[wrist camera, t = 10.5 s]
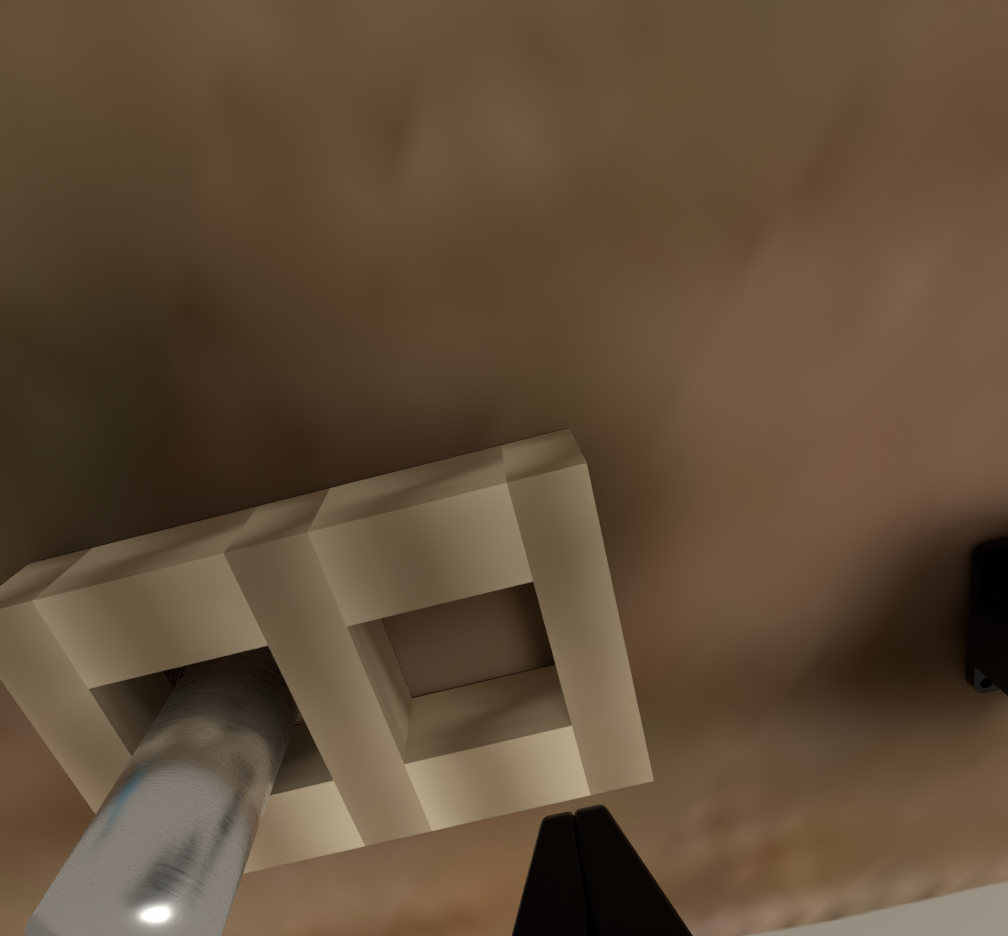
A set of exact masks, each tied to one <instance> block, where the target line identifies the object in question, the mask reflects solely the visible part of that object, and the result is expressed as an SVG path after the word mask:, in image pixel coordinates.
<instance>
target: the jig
mask: <svg viewBox="0 0 1008 936" xmlns="http://www.w3.org/2000/svg"><path fill="white" fill-rule="evenodd" d="M529 582H534V586H535V590H536V594H537V597H538V601H539V605H540V609H541V612H542V616H543V620H544V623H545V627H546V631H547V635H548V638H549V642H550V646H551V650H552V653H553V657H554V661H555V664H556V665H551V666H547V667H543V668H539V669H534V670H530V671H526V672H522V673H517V674H513V675H509V676H505V677H500V678H496V679H492V680H488V681H483V682H479V683H475V684H471V685H466V686H462V687H458V688H454V689H449V690H445V691H441V692H437V693H432V694H428V695H424V696H420V697H415V698H412V697H411V694H410V692H409V689H408V687H407V684H406V681H405V679H404V676H403V674H402V671H401V669H400V666H399V663H398V661H397V658H396V656H395V653H394V651H393V648H392V646H391V643H390V640H389V638H388V635H387V633H386V630H385V628H384V625H383V622H382V620H381V618H384V617H388V616H392V615H396V614H401V613H405V612H409V611H413V610H417V609H421V608H425V607H430V606H434V605H438V604H442V603H446V602H450V601H455V600H459V599H463V598H467V597H471V596H475V595H479V594H484V593H488V592H492V591H496V590H500V589H504V588H508V587H513V586H517V585H521V584H525V583H529ZM264 646H269V648H270V650H271V652H272V655H273V657H274V659H275V661H276V663H277V665H278V667H279V669H280V671H281V673H282V675H283V677H284V679H285V681H286V683H287V686H288V688H289V690H290V692H291V694H292V696H293V698H294V700H295V702H296V704H297V706H298V708H299V710H300V712H301V714H302V717H303V719H304V721H305V724H301V725H296V726H294V727H293V730H292V733H291V736H290V739H289V742H288V744H287V747H286V750H285V753H284V756H283V759H282V762H281V765H280V768H279V771H278V773H277V776H276V779H275V782H274V785H273V788H272V791H271V794H270V797H269V800H268V802H267V805H266V808H265V811H264V814H263V817H262V820H261V823H260V826H259V829H258V831H257V834H256V837H255V840H254V843H253V846H252V849H251V852H250V855H249V858H248V860H247V863H246V866H245V869H244V872H243V874H244V873H248V872H253V871H257V870H262V869H266V868H271V867H275V866H279V865H284V864H288V863H293V862H297V861H302V860H306V859H310V858H315V857H319V856H324V855H328V854H333V853H337V852H341V851H346V850H350V849H355V848H359V847H364V846H368V845H372V844H377V843H381V842H386V841H390V840H395V839H399V838H403V837H408V836H412V835H417V834H421V833H426V832H430V831H434V830H439V829H443V828H448V827H452V826H457V825H461V824H465V823H470V822H474V821H479V820H483V819H488V818H492V817H496V816H501V815H505V814H510V813H514V812H519V811H523V810H527V809H532V808H536V807H541V806H545V805H550V804H554V803H558V802H563V801H567V800H572V799H576V798H581V797H585V796H589V795H594V794H598V793H603V792H607V791H612V790H616V789H620V788H625V787H629V786H634V785H638V784H643V783H647V782H651V781H654V780H653V775H652V770H651V765H650V761H649V756H648V751H647V747H646V742H645V737H644V732H643V728H642V723H641V718H640V713H639V709H638V704H637V699H636V694H635V690H634V685H633V680H632V675H631V671H630V666H629V661H628V656H627V652H626V647H625V642H624V637H623V633H622V628H621V623H620V619H619V614H618V609H617V604H616V600H615V595H614V590H613V585H612V581H611V576H610V571H609V566H608V562H607V557H606V552H605V547H604V543H603V538H602V533H601V528H600V524H599V519H598V514H597V509H596V505H595V500H594V495H593V490H592V486H591V481H590V476H589V472H588V467H587V463H586V460H585V458H584V456H583V454H582V452H581V450H580V448H579V446H578V444H577V442H576V440H575V438H574V436H573V434H572V432H571V430H570V428H568V429H564V430H560V431H556V432H552V433H548V434H544V435H540V436H536V437H532V438H528V439H524V440H520V441H516V442H512V443H508V444H504V445H500V446H496V447H492V448H488V449H484V450H480V451H476V452H472V453H468V454H464V455H460V456H456V457H452V458H448V459H444V460H440V461H436V462H432V463H428V464H424V465H420V466H416V467H412V468H408V469H404V470H400V471H396V472H392V473H388V474H384V475H380V476H377V477H373V478H369V479H365V480H361V481H357V482H353V483H349V484H345V485H341V486H337V487H333V488H329V489H325V490H321V491H317V492H313V493H309V494H305V495H301V496H297V497H293V498H289V499H285V500H281V501H277V502H273V503H269V504H265V505H261V506H257V507H253V508H249V509H245V510H241V511H237V512H233V513H229V514H225V515H221V516H217V517H213V518H209V519H205V520H201V521H197V522H193V523H189V524H185V525H182V526H178V527H174V528H170V529H166V530H162V531H158V532H154V533H150V534H146V535H142V536H138V537H134V538H130V539H126V540H122V541H118V542H114V543H110V544H106V545H102V546H98V547H94V548H90V549H86V550H82V551H78V552H74V553H70V554H66V555H62V556H58V557H54V558H50V559H46V560H42V561H38V562H34V563H30V564H28V565H27V566H25V567H24V568H23V569H21V570H20V571H19V572H18V573H16V574H15V575H14V576H13V577H11V578H10V579H9V580H7V581H6V582H5V583H4V584H2V585H1V586H0V680H1V681H2V683H3V684H4V686H5V687H6V688H7V690H8V691H9V693H10V694H11V695H12V697H13V698H14V700H15V701H16V703H17V704H18V705H19V707H20V708H21V710H22V711H23V712H24V714H25V715H26V717H27V718H28V719H29V721H30V722H31V724H32V725H33V727H34V728H35V729H36V731H37V732H38V734H39V735H40V736H41V738H42V739H43V741H44V742H45V744H46V745H47V746H48V748H49V749H50V751H51V752H52V753H53V755H54V756H55V758H56V759H57V761H58V762H59V763H60V765H61V766H62V768H63V769H64V770H65V772H66V773H67V775H68V776H69V777H70V779H71V780H72V782H73V783H74V785H75V786H76V787H77V789H78V790H79V792H80V793H81V794H82V796H83V797H84V799H85V800H86V802H87V803H88V804H89V806H90V807H91V809H92V810H93V811H94V813H95V814H96V813H97V811H98V810H99V808H100V806H101V805H102V803H103V802H104V800H105V798H106V797H107V795H108V794H109V792H110V790H111V789H112V787H113V786H114V784H115V782H116V781H117V779H118V778H119V776H120V775H121V773H122V771H123V770H124V768H125V767H126V765H127V763H128V762H129V760H130V759H131V757H132V755H133V754H134V752H135V751H136V749H137V747H138V746H139V744H140V743H141V741H142V739H143V738H144V736H145V735H146V733H147V731H148V730H149V728H150V727H151V725H152V724H153V722H154V720H155V719H156V717H157V716H158V714H159V712H160V711H161V709H162V708H163V706H164V704H165V703H166V701H167V700H168V698H169V696H170V695H171V693H172V692H173V690H174V688H173V687H172V685H171V683H170V681H169V680H168V678H167V676H166V675H165V673H164V670H169V669H173V668H177V667H181V666H185V665H189V664H193V663H198V662H202V661H206V660H210V659H214V658H218V657H222V656H227V655H231V654H235V653H239V652H243V651H247V650H251V649H256V648H260V647H264Z"/></svg>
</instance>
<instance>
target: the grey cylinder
mask: <svg viewBox="0 0 1008 936" xmlns="http://www.w3.org/2000/svg"><path fill="white" fill-rule="evenodd" d="M298 713H299V708H298V706H297V704H296V702H295V700H294V698H293V696H292V694H291V692H290V690H289V688H288V686H287V683H286V681H285V679H284V677H283V675H282V673H281V671H280V669H279V667H278V665H277V663H276V661H275V659H274V657H273V655H272V652H271V650H270V648H269V646H264V647H260V648H256V649H251V650H247V651H243V652H239V653H235V654H231V655H227V656H222V657H218V658H214V659H210V660H206V661H202V662H198V663H193V664H190V665H189V666H188V668H187V669H186V671H185V673H184V674H183V676H182V677H181V679H180V681H179V682H178V684H177V685H176V687H175V688H174V690H173V692H172V693H171V695H170V696H169V698H168V700H167V701H166V703H165V704H164V706H163V708H162V709H161V711H160V712H159V714H158V716H157V717H156V719H155V720H154V722H153V724H152V725H151V727H150V728H149V730H148V731H147V733H146V735H145V736H144V738H143V739H142V741H141V743H140V744H139V746H138V747H137V749H136V751H135V752H134V754H133V755H132V757H131V759H130V760H129V762H128V763H127V765H126V767H125V768H124V770H123V771H122V773H121V775H120V776H119V778H118V779H117V781H116V782H115V784H114V786H113V787H112V789H111V790H110V792H109V794H108V795H107V797H106V798H105V800H104V802H103V803H102V805H101V806H100V808H99V810H98V811H97V813H96V814H95V816H94V818H93V819H92V821H91V822H90V824H89V825H88V827H87V829H86V830H85V832H84V833H83V835H82V837H81V838H80V840H79V841H78V843H77V845H76V846H75V848H74V849H73V851H72V853H71V854H70V856H69V857H68V859H67V861H66V862H65V864H64V865H63V867H62V869H61V870H60V872H59V873H58V875H57V876H56V878H55V880H54V881H53V883H52V884H51V886H50V888H49V889H48V891H47V892H46V894H45V896H44V897H43V899H42V900H41V902H40V904H39V905H38V907H37V908H36V910H35V912H34V913H33V915H32V916H31V918H30V919H29V921H28V923H27V926H26V928H25V934H24V936H222V933H223V930H224V927H225V924H226V921H227V918H228V916H229V913H230V910H231V907H232V904H233V901H234V898H235V895H236V892H237V889H238V887H239V884H240V881H241V878H242V875H243V872H244V869H245V866H246V863H247V860H248V858H249V855H250V852H251V849H252V846H253V843H254V840H255V837H256V834H257V831H258V829H259V826H260V823H261V820H262V817H263V814H264V811H265V808H266V805H267V802H268V800H269V797H270V794H271V791H272V788H273V785H274V782H275V779H276V776H277V773H278V771H279V768H280V765H281V762H282V759H283V756H284V753H285V750H286V747H287V744H288V742H289V739H290V736H291V733H292V730H293V727H294V724H295V721H296V718H297V715H298Z"/></svg>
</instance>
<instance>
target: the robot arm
mask: <svg viewBox="0 0 1008 936" xmlns="http://www.w3.org/2000/svg"><path fill="white" fill-rule="evenodd" d="M992 555H993V556H992ZM991 556H992V557H991ZM990 557H991V558H990ZM989 558H990V559H989ZM966 681H967V683H968V684H969V685H970V686H971V687H973V688H974V689H975V690H976V691H977V692H979V693H987V692H992V691H996V690H1002V691H1003V692H1004V693H1005V694H1006V695H1007V696H1008V537H1006V538H1002V539H998V540H993V541H989V542H986V543H983V544H981V545H980V546H979V547H977V548H976V550H975V551H974V552H973V556H972V568H971V587H970V607H969V627H968V646H967V666H966ZM512 936H693V935H692V934H691V932H690V931H689V929H688V928H687V926H686V925H685V923H684V922H683V920H682V919H681V917H680V916H679V915H678V913H677V912H676V910H675V909H674V907H673V906H672V904H671V903H670V901H669V900H668V898H667V897H666V895H665V894H664V892H663V891H662V889H661V888H660V886H659V885H658V883H657V882H656V880H655V879H654V877H653V876H652V874H651V873H650V871H649V870H648V869H647V867H646V866H645V864H644V863H643V861H642V860H641V858H640V857H639V855H638V854H637V852H636V851H635V849H634V848H633V846H632V845H631V843H630V842H629V840H628V839H627V837H626V836H625V834H624V833H623V831H622V830H621V828H620V827H619V825H618V824H617V823H616V821H615V820H614V818H613V817H612V815H611V814H610V812H609V811H608V809H607V808H606V807H605V806H604V805H601V804H599V805H594V806H590V807H585V808H581V809H578V810H577V811H576V812H575V817H574V815H573V813H571V812H563V813H559V814H554V815H550V816H546V817H545V818H544V819H543V820H542V822H541V825H540V828H539V832H538V836H537V840H536V844H535V848H534V851H533V855H532V859H531V863H530V867H529V871H528V875H527V878H526V882H525V886H524V890H523V894H522V898H521V901H520V905H519V909H518V913H517V917H516V921H515V925H514V928H513V932H512Z"/></svg>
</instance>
